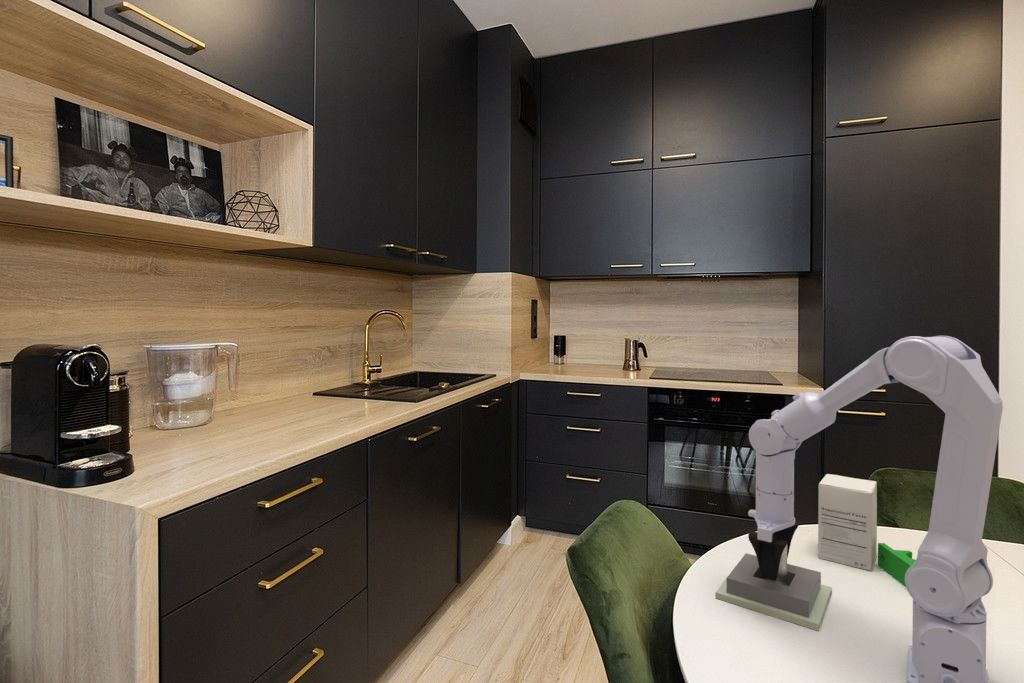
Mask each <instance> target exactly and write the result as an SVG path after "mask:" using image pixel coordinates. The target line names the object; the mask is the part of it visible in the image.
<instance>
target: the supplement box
mask: <svg viewBox="0 0 1024 683" xmlns="http://www.w3.org/2000/svg"><path fill="white" fill-rule="evenodd" d="M877 483H878V482H877V481H875V480H869V479H863V478H862V479H861V478H855V477H849V476H843V475H839V474H830V473H827V474H825V475H824V476H823V478H822V479H821V481H819V483H818V488H817V489H818V501H817V502H818V512H817V514H818V515H817V516H818V519H817V521H818V522H817V524H818V528H817V529H818V530H817V531H818V532H817V534H818V539H817V540H818V541H817V542H818V544H817V545H818V548H817V550H818V553H817V554H818V557H817V558H818V559H821V560H822V559H823V560H826V561H828V562H833V563H838V564H842V565H845V566H850V567H853V568H858V569H862V570H864V571H865V570H866V571H869V572H870V571H871V572H872V571H873V568H874V565H875V562H876V559H877V557H878V542H877V541H878V540H877V539H878V536H877V534H878V529H877V528H878V525H877V524H878V521H877V520H878V506H877V505H878V503H877V501H878V494H877V493H878V492H877V491H878V485H877Z"/></svg>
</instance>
